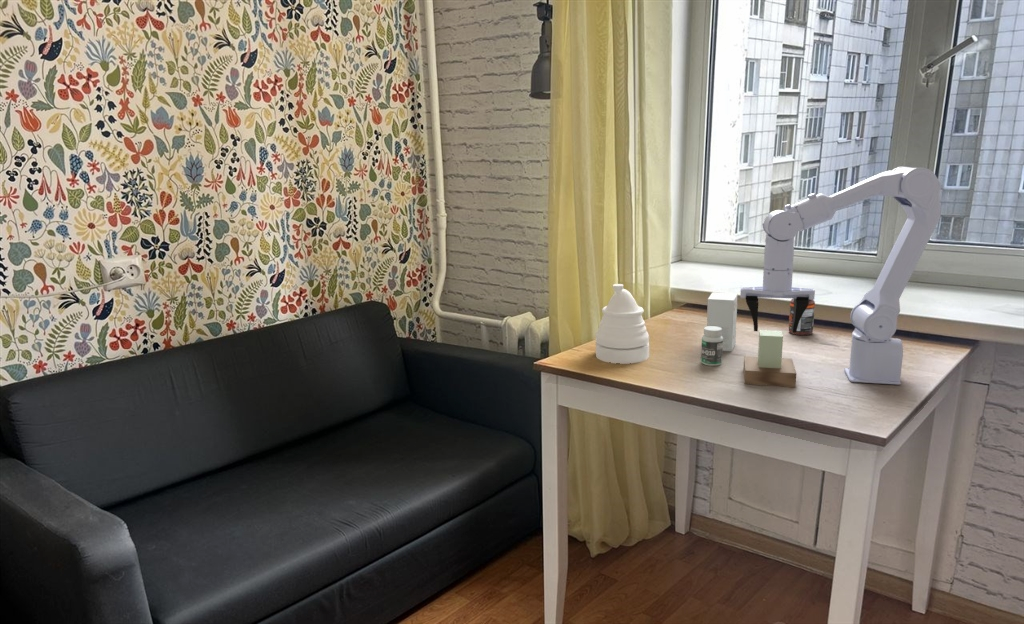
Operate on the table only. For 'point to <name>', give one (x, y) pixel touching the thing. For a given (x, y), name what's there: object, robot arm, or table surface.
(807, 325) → the supplement bottle
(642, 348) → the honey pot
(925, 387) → the table surface
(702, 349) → the pill bottle
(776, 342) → the sage block
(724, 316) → the small box
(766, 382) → the walnut base
